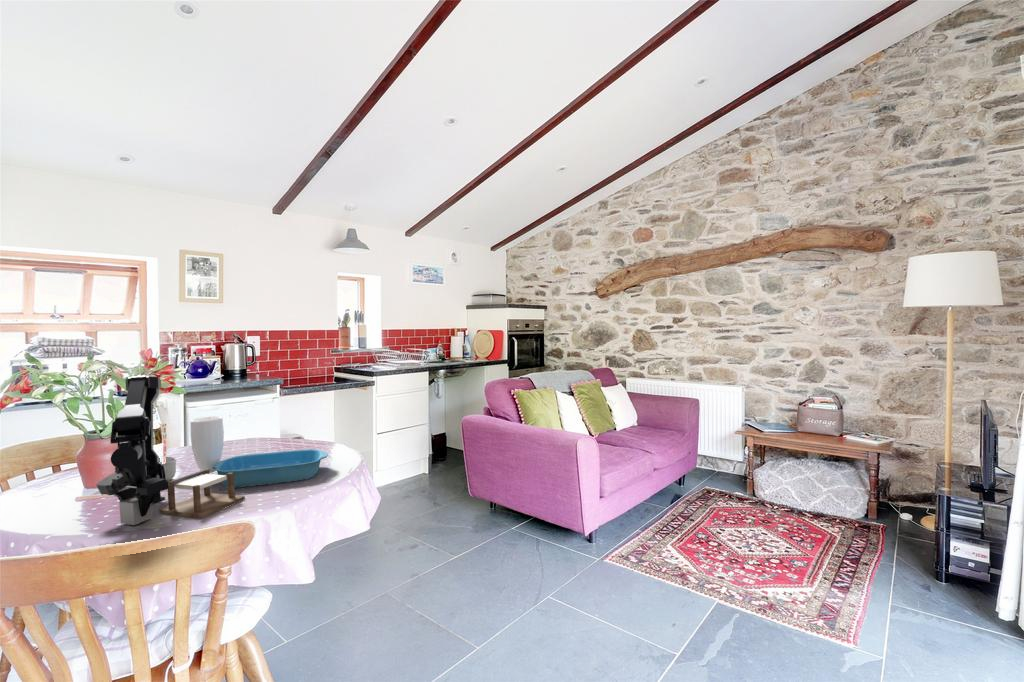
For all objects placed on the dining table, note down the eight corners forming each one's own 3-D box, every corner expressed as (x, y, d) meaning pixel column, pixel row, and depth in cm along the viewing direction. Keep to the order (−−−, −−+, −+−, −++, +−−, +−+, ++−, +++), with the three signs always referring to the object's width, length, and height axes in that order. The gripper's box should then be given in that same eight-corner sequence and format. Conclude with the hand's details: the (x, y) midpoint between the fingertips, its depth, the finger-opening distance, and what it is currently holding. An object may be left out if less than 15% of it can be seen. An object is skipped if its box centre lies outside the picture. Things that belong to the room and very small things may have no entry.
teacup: (171, 475, 181) (170, 454, 181) (182, 481, 174) (180, 458, 174) (124, 486, 170) (122, 463, 170) (133, 492, 164) (132, 468, 163)
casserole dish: (329, 463, 193) (328, 445, 192) (327, 480, 172) (326, 460, 171) (221, 475, 181) (220, 456, 180) (205, 495, 160) (204, 473, 159)
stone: (120, 523, 137) (119, 501, 136) (138, 516, 141) (137, 495, 141) (134, 525, 135) (132, 503, 135) (152, 517, 140) (150, 496, 140)
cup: (188, 480, 176) (185, 419, 175) (221, 473, 183) (219, 414, 182) (196, 486, 168) (192, 423, 167) (230, 479, 175) (227, 418, 174)
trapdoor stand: (159, 513, 144) (157, 482, 144) (204, 495, 159) (203, 467, 158) (202, 518, 140) (200, 486, 139) (244, 499, 154) (243, 470, 154)
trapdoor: (176, 488, 145) (176, 484, 145) (206, 477, 155) (206, 473, 155) (197, 490, 143) (197, 486, 143) (226, 479, 153) (226, 475, 153)
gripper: (76, 466, 132) (80, 523, 133) (127, 470, 127) (131, 530, 128) (119, 454, 143) (123, 508, 144) (169, 458, 138) (172, 513, 138)
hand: (136, 515), depth 138 cm, fingers closed on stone, 5 cm apart
